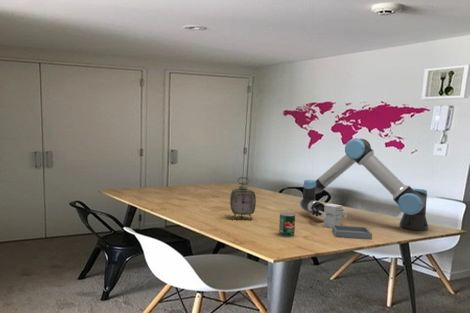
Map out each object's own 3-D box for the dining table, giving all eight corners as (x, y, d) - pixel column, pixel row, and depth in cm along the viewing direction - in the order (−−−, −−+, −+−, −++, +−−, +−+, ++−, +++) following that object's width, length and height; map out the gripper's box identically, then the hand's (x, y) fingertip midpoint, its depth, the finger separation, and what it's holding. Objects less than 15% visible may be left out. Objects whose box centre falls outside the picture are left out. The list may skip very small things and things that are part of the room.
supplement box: (322, 226, 233) (323, 204, 232) (329, 224, 238) (331, 203, 237) (334, 229, 228) (335, 206, 227) (341, 227, 233) (342, 205, 232)
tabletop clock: (230, 220, 239) (232, 177, 238) (229, 217, 248) (230, 176, 247) (254, 220, 241) (256, 178, 239) (252, 217, 250) (254, 176, 248)
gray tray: (365, 232, 222) (366, 227, 222) (371, 239, 208) (372, 233, 208) (332, 230, 224) (332, 225, 224) (335, 237, 210) (335, 231, 210)
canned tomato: (284, 232, 215) (285, 211, 215) (297, 235, 210) (298, 214, 210) (275, 235, 209) (276, 213, 209) (289, 238, 204) (290, 216, 204)
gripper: (333, 213, 254) (354, 220, 234) (297, 214, 246) (315, 222, 226) (334, 201, 253) (355, 207, 233) (298, 202, 245) (316, 209, 225)
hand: (335, 215), depth 229 cm, fingers open, 13 cm apart
